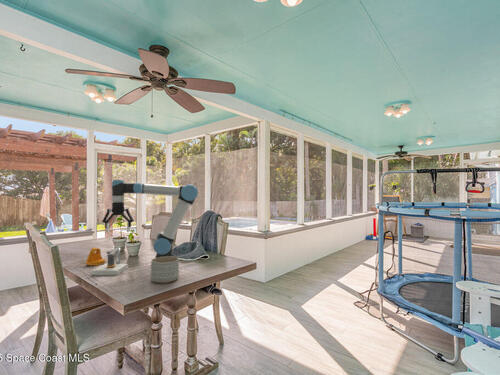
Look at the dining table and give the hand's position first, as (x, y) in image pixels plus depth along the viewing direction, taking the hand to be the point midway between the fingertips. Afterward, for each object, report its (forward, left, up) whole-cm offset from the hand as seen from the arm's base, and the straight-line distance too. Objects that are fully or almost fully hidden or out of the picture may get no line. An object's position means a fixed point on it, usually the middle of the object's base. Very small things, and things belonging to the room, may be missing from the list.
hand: (118, 232), depth 184 cm
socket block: (+3, +3, -26) cm, 27 cm away
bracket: (+23, -15, -27) cm, 38 cm away
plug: (+3, +3, -26) cm, 27 cm away
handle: (+3, 0, -26) cm, 26 cm away
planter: (-39, +20, -27) cm, 51 cm away
